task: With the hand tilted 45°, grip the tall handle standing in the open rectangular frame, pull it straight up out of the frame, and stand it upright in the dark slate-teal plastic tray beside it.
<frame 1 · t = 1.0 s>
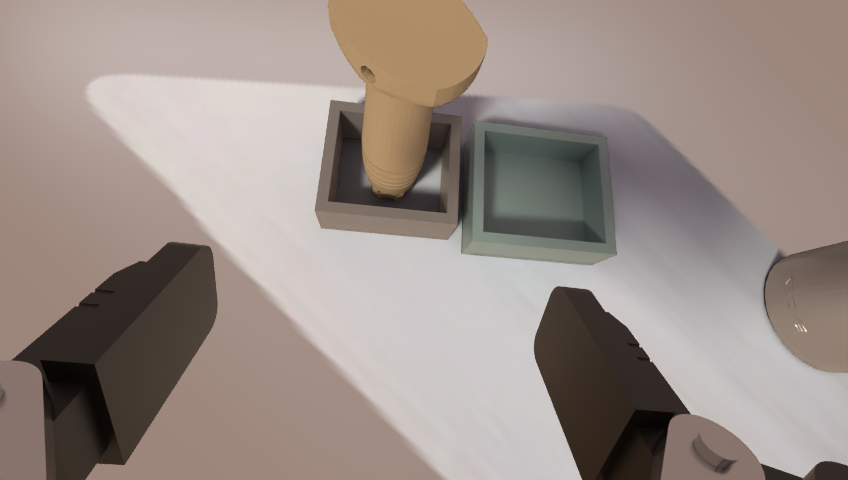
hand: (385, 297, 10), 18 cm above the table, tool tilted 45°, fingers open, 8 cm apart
parts tray: (526, 203, 31), on the table
open rectangular frame: (389, 182, 30), on the table
handle: (389, 183, 30), resting in open rectangular frame
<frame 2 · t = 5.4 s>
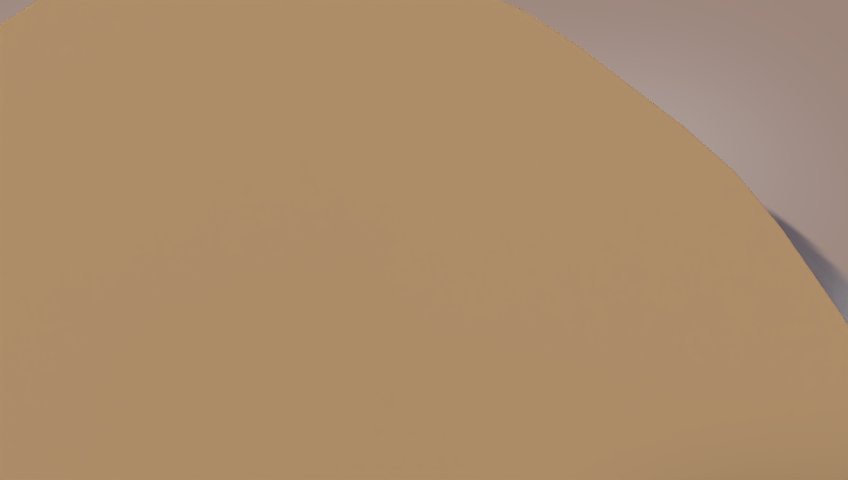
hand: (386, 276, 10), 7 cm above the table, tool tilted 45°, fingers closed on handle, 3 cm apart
handle: (372, 358, 17), resting in open rectangular frame, touching gripper
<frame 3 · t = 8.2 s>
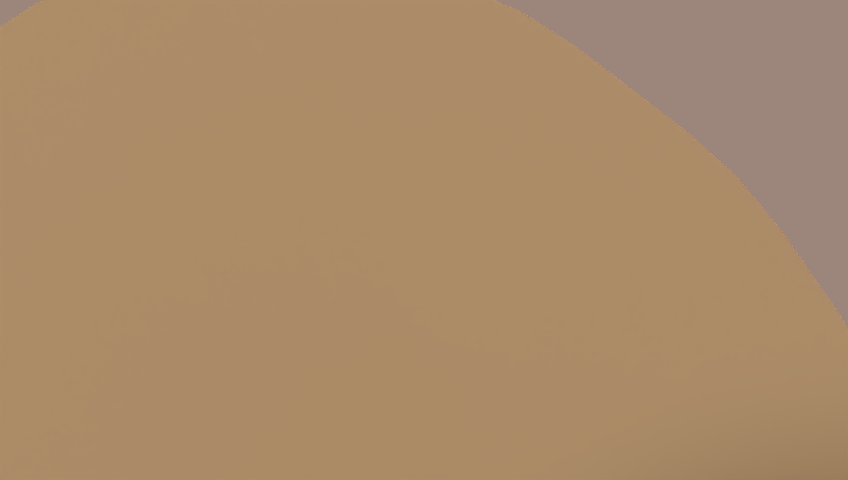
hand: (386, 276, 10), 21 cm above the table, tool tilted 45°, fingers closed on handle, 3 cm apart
handle: (373, 359, 17), point 13 cm above the table, touching gripper
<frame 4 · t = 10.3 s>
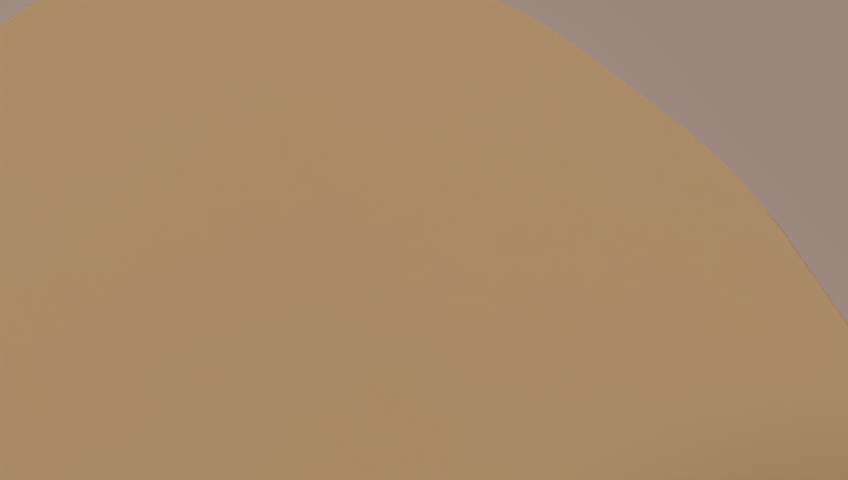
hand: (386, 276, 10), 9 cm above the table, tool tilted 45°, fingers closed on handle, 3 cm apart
handle: (373, 359, 17), point 2 cm above the table, touching gripper
when the fingers open (9 cm above the table, at t = 11.1 s): handle drops 1 cm, resting on parts tray.
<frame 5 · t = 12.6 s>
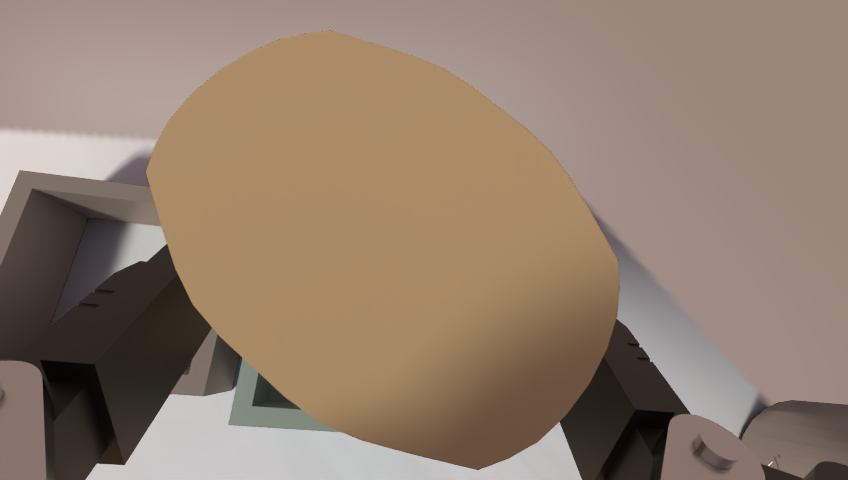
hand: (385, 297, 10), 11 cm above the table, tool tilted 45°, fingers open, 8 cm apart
parts tray: (372, 324, 20), on the table
open rectangular frame: (151, 292, 19), on the table
handle: (373, 328, 20), resting on parts tray
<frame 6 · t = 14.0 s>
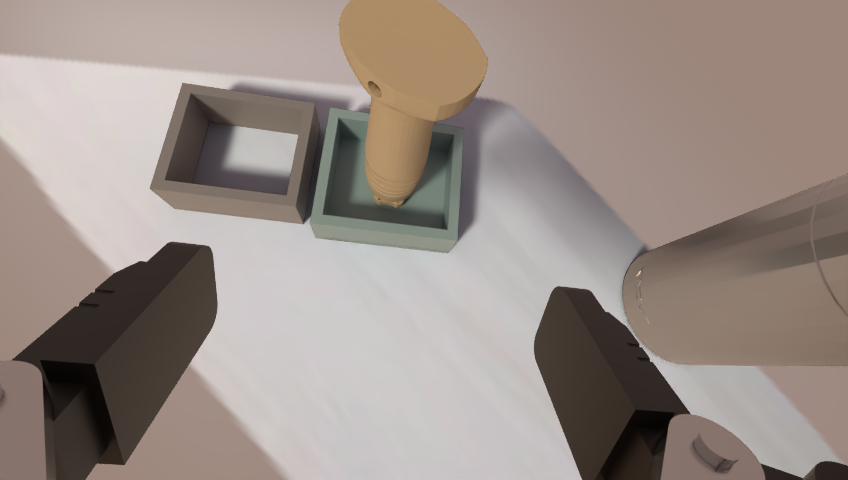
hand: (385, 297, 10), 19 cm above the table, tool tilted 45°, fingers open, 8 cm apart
parts tray: (389, 191, 31), on the table
open rectangular frame: (251, 167, 30), on the table
handle: (389, 191, 31), resting on parts tray
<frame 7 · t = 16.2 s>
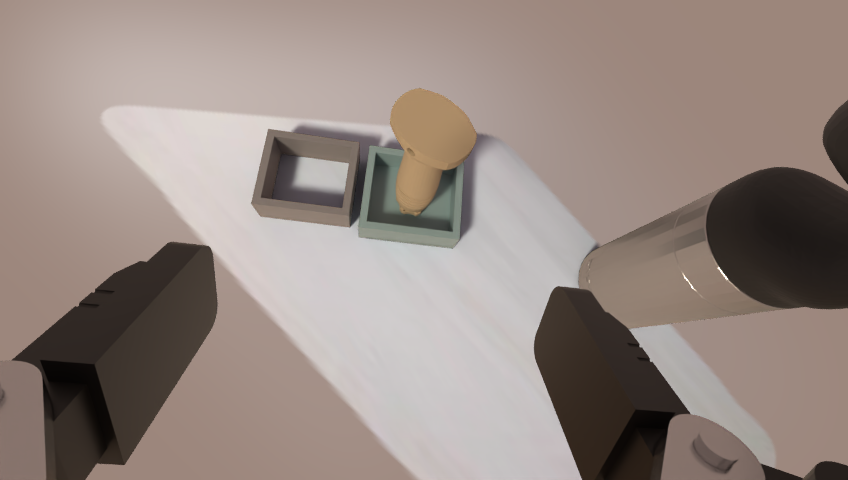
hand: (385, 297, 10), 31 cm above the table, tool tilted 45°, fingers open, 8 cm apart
parts tray: (410, 203, 43), on the table
open rectangular frame: (312, 186, 43), on the table
handle: (410, 204, 43), resting on parts tray
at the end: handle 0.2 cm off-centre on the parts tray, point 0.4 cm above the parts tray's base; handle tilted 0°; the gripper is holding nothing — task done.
